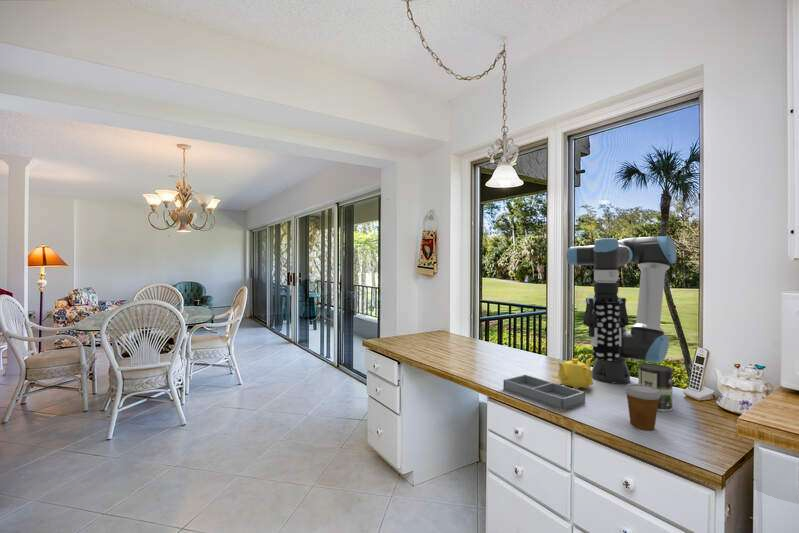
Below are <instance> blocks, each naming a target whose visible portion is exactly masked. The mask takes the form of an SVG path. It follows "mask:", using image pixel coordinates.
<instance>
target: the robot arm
mask: <svg viewBox="0 0 799 533" xmlns="http://www.w3.org/2000/svg"><path fill="white" fill-rule="evenodd" d="M676 260H677V250H676V246H675V242H674V241H673V239H672V237H669V236H668V235H667V236H665V235H663V236H659V235H656V236H643V237H641V236H640V237H628V238H627V237H626V238H624V239H623V238H622V239H619V240H618V239H617V238H615V237H614V238H612V237H611V238H609V237H607V238H597V239H595V240H594V245H584V246H582V245H581V246H577V245H576V246H570V247H569V248H568V249H567V250H566V262H567V264H569V265H570V266H593V281H594V283H593V292H594V295H593V297H586V299H585V301H586V307H585V312H584V317H583V322H582V323H583V326H586V327H588V336H589V337H590V346H592V347H593V346H595V347H597V328H595V326H596V324H597V314H598V313H596V314H594V312H593V308H594V303H595V302H619V360H615V361H608V360H601V359H597V358H595V361H594V363H593V367H592V368H591V371H592V379H595V380H597V381H600V380H601V381H600V382H604V381H605V383H609V382H615V383H614V384H628V383H630V382H631V374H630V372H629V369H628V367H627V362H626V361H627V360H626V359H631V360H635V361H641V362H646V363H652V364H659V363H662V362H663V361H664V360H665V358H666V356H667V353H668V351H669V346H670V343H669V341H670V340H669V337H668V335H665V331H664V330H663V329H662V327H661V319H662V307H663V297H664V287H665V275H666V271H668V270H669V269H670V268H671V265H672V264H675V263H676ZM627 264H637V267H638V268H639V269H640V271H641V272H640V280H639V281H640V282H639V289H638V297H637V310H636V319H635V323H634V324H633V325H631V327H630V328H631V329H630V330H627V328H626V327H627V326H629V318H628V312H627V307H626V302H627V298H626V297H619V296H618V293H619V283H618V281H619V266H624V265H627ZM627 382H628V383H627Z"/></svg>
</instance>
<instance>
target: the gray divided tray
mask: <svg viewBox="0 0 799 533" xmlns="http://www.w3.org/2000/svg"><path fill="white" fill-rule="evenodd" d="M503 391H506V392H509V393H511V394H515V395H517V396H519V397H523V398H526V399H527V400H532V401H535V402H537V403H540V404H543V405H546V406H549V407H551V408H554V409H557V408H558V409H557V410H559V409H561V410H560V411H562V410H564V411H567V410H570V409H572V407H573V408H575V407H578V406H581V405H583V404H586V392H585V391H582V390H576V389H573V387H572V388H571V387H570V386H562V384H558V383H555V382H552V381H548V380H545V379H541V378H537V377H534V376H532V375H528V374H522V375H518V376H514V377H511V378H510V377H508V378H505V379H503ZM569 408H570V409H569ZM566 409H567V410H566Z"/></svg>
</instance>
